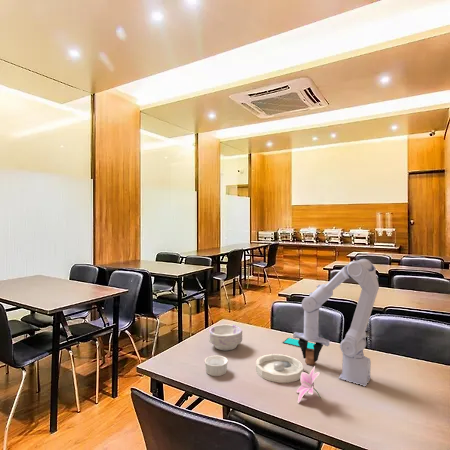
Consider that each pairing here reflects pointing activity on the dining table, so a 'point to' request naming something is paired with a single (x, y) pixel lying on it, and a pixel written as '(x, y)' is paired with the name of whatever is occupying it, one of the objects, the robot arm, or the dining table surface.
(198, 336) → the dining table surface
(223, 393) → the dining table surface
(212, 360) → the ramekin
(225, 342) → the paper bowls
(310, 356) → the pepper mill
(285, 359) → the ring tray
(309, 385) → the lily
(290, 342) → the smartphone
